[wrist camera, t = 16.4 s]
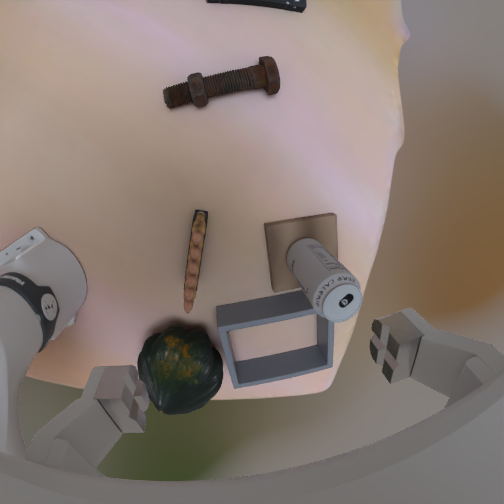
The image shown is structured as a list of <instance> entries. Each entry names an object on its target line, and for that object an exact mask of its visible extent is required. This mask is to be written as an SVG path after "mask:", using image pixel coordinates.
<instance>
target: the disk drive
mask: <svg viewBox="0 0 504 504" xmlns="http://www.w3.org/2000/svg"><path fill="white" fill-rule="evenodd" d="M206 1H207V3H222V4H243V5H254V6H263V7H271V8H278V9H284V10H289V11H296V12H301V13H302V12H303V11H304V9H305V8H306V0H206Z"/></svg>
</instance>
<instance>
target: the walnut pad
mask: <svg viewBox="0 0 504 504" xmlns="http://www.w3.org/2000/svg"><path fill="white" fill-rule="evenodd" d="M264 226H265V233H266V241H267V249H268V257H269V265H270V274H271V282H272V289H273V291H274V292H279V291H284V290H289V289H294V288H299V287H300V285H299V283H298V282H297V280H296V278H295V277H294V275H293V274H292V272H291V270H290V269H289V267H288V265H287V253H288V251H289V249H290V247H291V246H292V245H293V244H294V243H295V242H297V241H299V240H301V239H305V238H311V239H314V240H316V241H318V242H319V243H320V244H321V245H322V246H323V247H324V248H326V249H327V250H328V251H329V252H330V253H331V254H332V255H333V256H334V257H335V258H336V259H337V260H338V241H337V216H336V214H334V213H328V214H321V215H314V216H308V217H301V218H295V219H289V220H283V221H276V222H270V223H264Z"/></svg>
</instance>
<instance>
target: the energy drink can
mask: <svg viewBox="0 0 504 504" xmlns="http://www.w3.org/2000/svg"><path fill="white" fill-rule="evenodd" d="M287 265H288V267H289V269H290V270H291V272H292V274H293V275H294V277H295V278H296V280H297V282H298V283H299V285H300V287H301V288H302V290H303V292H304V293H305V295H306V296H307V298H308V300H309V301H310V303H311V305H312V306H313V308H314V310H315V311H316V312H317V314H318V315H320V316H321V317H324V318H327V319H328V320H330V321H332V322H343V321H346V320H348V319H350V318H351V317H353V316H354V315H355V314H356V313H357V311H358V310H359V308H360V307H361V304H362V293H361V289H360V284H359V282H358V280H357V279H356V278H355V277H354V276H353V275H352V274H351V273H350V272H349V271H348V270H347V269H346V268H345V267H344V266H343V265H342V264H341V263H340V262H339V261H338V260H337V259H336V258H335V257H334V256H333V255H332V254H331V253H330V252H329V251H328V250H327V249H326V248H324V247H323V246H322V245H321V244H320V243H319V242H318V241H316V240H314V239H311V238H305V239H301V240H299V241H297V242H295V243H294V244H293V245H292V246H291V247H290V249H289V251H288V253H287Z"/></svg>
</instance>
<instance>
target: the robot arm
mask: <svg viewBox="0 0 504 504" xmlns="http://www.w3.org/2000/svg"><path fill="white" fill-rule="evenodd" d="M32 236H33V237H34V239H33V238H32ZM86 293H87V284H86V278H85V275H84V272H83V269H82V267H81V265H80V263H79V262H78V260H77V259H76V257H75V256H74V255H73V254H72V253H71V251H69V250H68V249H67V248H66V247H65V246H63V245H62V244H60V243H58V242H56V241H54V240H52V239H51V238H49V237H48V236H47V234H46V233H45V232H44V231H43V230H42V229H40V228H38V227H36V228H34V229H33V230H31V231H30V232H28V233H27V234H25V235H24V236H22V237H21V238H19V239H18V240H16V241H15V242H13V243H12V244H11V245H9V246H8V247H6V248H5V249H3V250H2V251H1V252H0V504H504V355H503V354H502V353H500V352H499V351H498V350H497V349H496V348H495V347H494V346H493V345H492V344H488V343H485V342H481V341H478V340H474V339H471V338H467V337H464V336H460V335H456V334H453V333H450V332H446V331H442V330H437V331H436V330H435V329H434V328H433V327H432V326H431V325H430V324H429V323H427V322H426V321H425V320H424V319H423V318H422V317H421V316H420V315H419V314H418V313H417V312H416V311H414V309H412V308H407V309H404V310H402V311H399V312H397V313H394V314H391V315H388V316H384V317H381V318H378V319H375V320H374V321H373V323H372V331H373V332H374V333H375V334H374V335H373V336H372V338H371V339H370V351H371V355H372V358H373V360H374V361H375V363H376V364H379V365H381V366H383V368H382V373H383V374H384V375H385V377H386V379H387V380H388V381H389V383H390V384H391V383H394V382H397V381H400V380H402V379H405V378H407V377H410V376H411V378H413V379H415V380H416V381H418V382H420V383H422V384H424V385H426V386H428V387H430V388H432V389H434V390H436V391H438V392H440V393H442V394H444V395H446V396H448V397H450V398H449V400H448V402H447V404H446V406H445V409H443V410H441V411H440V412H438V413H436V414H434V415H432V416H430V417H429V418H427V419H425V420H423V421H421V422H419V423H417V424H415V425H413V426H411V427H409V428H406V429H404V430H402V431H400V432H398V433H395V434H393V435H391V436H388V437H386V438H384V439H381V440H379V441H376V442H374V443H372V444H369V445H366V446H363V447H361V448H358V449H355V450H352V451H349V452H346V453H343V454H340V455H337V456H334V457H331V458H327V459H324V460H320V461H317V462H313V463H310V464H306V465H301V466H297V467H293V468H288V469H283V470H279V471H274V472H268V473H263V474H256V475H250V476H243V477H236V478H226V479H217V480H216V479H215V480H201V481H140V480H125V479H116V478H107V477H105V476H104V475H103V474H102V473H100V472H99V471H98V470H97V469H96V467H97V465H98V464H99V463H100V462H101V461H102V459H103V458H104V457H105V456H106V454H107V453H108V452H109V451H110V449H111V448H112V446H113V445H114V444H115V443H116V442H117V440H118V439H119V438H120V436H121V435H122V433H142V432H144V430H145V424H146V416H145V414H144V413H143V412H144V411H145V410H146V409H147V408H148V404H149V396H148V391H147V388H146V386H145V384H144V382H142V381H141V380H139V379H138V376H139V372H138V371H137V369H136V367H135V366H133V365H125V366H103V367H95V368H93V369H92V372H91V374H90V376H89V379H88V381H87V384H86V386H85V389H84V391H83V394H82V396H81V399H76V400H75V401H74V402H73V403H72V404H70V405H69V406H68V407H67V408H65V409H64V410H63V411H62V412H61V413H59V414H58V415H57V416H56V417H54V418H53V419H52V420H51V421H50V422H48V423H47V424H46V425H45V426H44V427H42V428H41V429H40V430H39V431H37V432H36V433H35V435H34V437H33V440H32V442H31V445H30V448H29V450H28V451H27V449H26V446H25V444H24V440H23V437H22V434H21V429H20V423H19V411H18V406H19V402H18V401H19V393H20V388H21V384H22V381H23V379H24V377H25V375H26V372H27V370H28V368H29V366H30V365H31V363H32V361H33V359H34V357H35V356H36V354H37V353H39V352H41V351H42V350H43V349H44V348H45V347H46V346H47V344H48V343H49V341H50V340H54V339H55V338H56V337H57V336H58V335H59V334H60V333H61V331H62V330H63V329H64V328H65V327H66V326H72V325H73V324H74V323H75V321H76V316H77V311H78V310H79V308H80V307H81V306H82V304H83V303H84V301H85V298H86Z"/></svg>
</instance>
